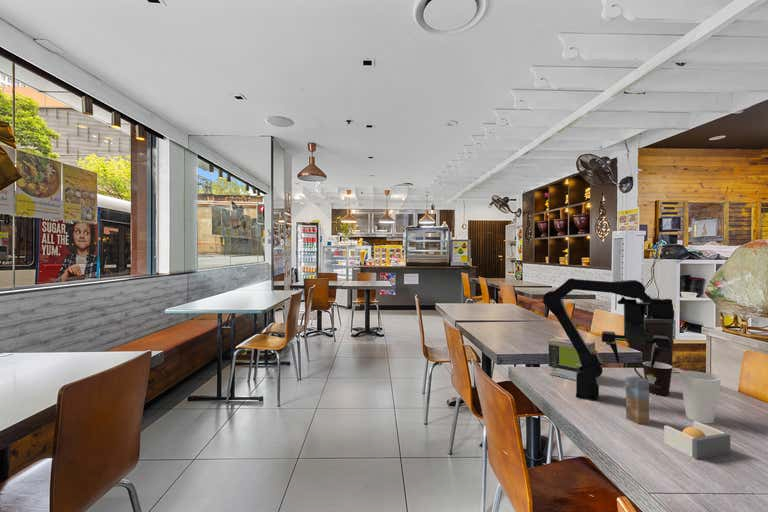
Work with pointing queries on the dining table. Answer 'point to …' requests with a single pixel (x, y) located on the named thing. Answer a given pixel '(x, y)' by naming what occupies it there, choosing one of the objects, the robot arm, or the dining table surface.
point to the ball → (693, 432)
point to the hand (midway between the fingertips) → (634, 365)
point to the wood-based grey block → (637, 399)
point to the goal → (698, 441)
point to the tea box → (565, 357)
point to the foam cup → (700, 395)
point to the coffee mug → (657, 377)
